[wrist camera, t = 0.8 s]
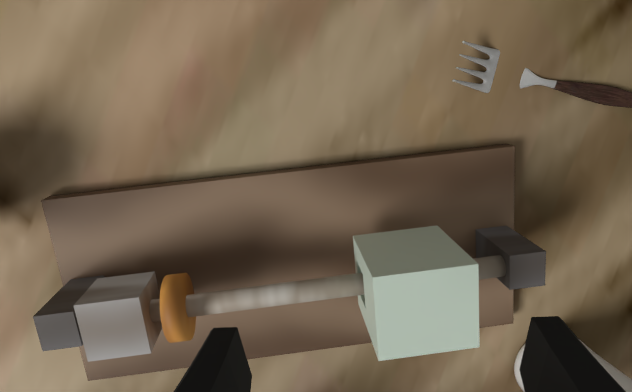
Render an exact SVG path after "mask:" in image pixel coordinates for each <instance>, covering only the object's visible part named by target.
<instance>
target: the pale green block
mask: <svg viewBox="0 0 632 392" xmlns="http://www.w3.org/2000/svg"><path fill="white" fill-rule="evenodd" d="M353 245H354V257H355V269H356V273H362V274H363V283H364V295H358V304H359V307H360V310H361V313H362V316H363V318H364V321H365V324H366V327H367V330H368V332H369V335H370V338H371V341H372V344H373V346H374V349H375V352H376V355H377V358H378V360H379V361H382V360H390V359H397V358H404V357H411V356H419V355H426V354H433V353H440V352H448V351H455V350H462V349H470V348H477V347H479V269H478V263H477V262H476V261H475V260H474V259H473V258H472V257H470V256H469V255H468V254H467V253H466V252H465V251H464V250H463V249H462V248H461V247H460V246H459V245H458V244H457V243H456V242H454V241H453V240H452V239H451V238H450V237H449V236H448V235H447V234H446V233H445V232H444V231H443V230H442V229H441V228H440V227H438V226H437V225H436V226H428V227H420V228H412V229H404V230H395V231H387V232H379V233H371V234H363V235H355V236H353Z"/></svg>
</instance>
